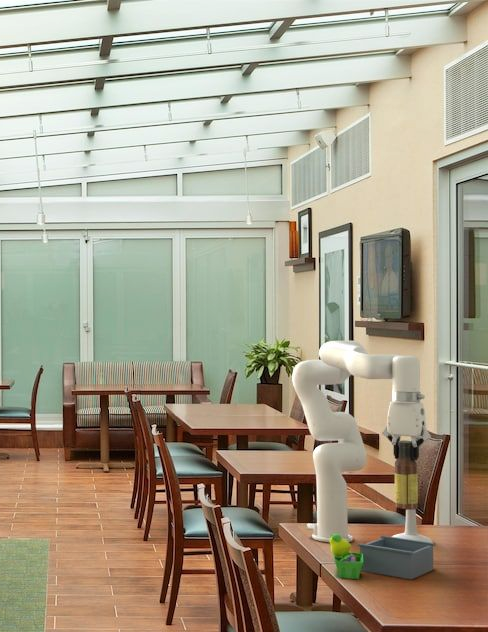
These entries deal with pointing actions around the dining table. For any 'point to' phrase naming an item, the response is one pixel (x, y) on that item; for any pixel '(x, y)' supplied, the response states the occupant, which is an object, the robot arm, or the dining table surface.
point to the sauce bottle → (406, 478)
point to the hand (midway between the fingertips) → (406, 458)
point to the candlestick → (412, 528)
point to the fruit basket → (345, 558)
